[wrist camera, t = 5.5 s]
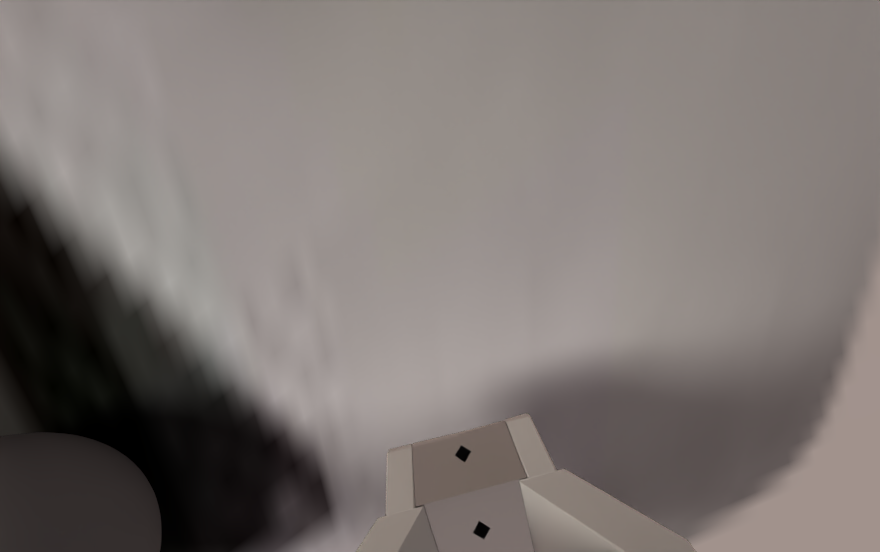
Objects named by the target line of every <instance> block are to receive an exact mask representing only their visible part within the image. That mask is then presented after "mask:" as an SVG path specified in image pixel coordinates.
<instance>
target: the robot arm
mask: <svg viewBox="0 0 880 552" xmlns="http://www.w3.org/2000/svg"><path fill="white" fill-rule="evenodd" d="M356 552H696V551H695V549H694V548H693V547H692V545H691V544H690V542H689V541H688V540H687V539H685V538H683V537H681V536H680V535H678V534H676V533H674V532H673V531H671V530H669V529H668V528H666V527H664V526H662V525H661V524H659V523H657V522H656V521H654V520H652V519H650V518H649V517H647V516H645V515H643V514H642V513H640V512H638V511H637V510H635V509H633V508H631V507H630V506H628V505H626V504H624V503H623V502H621V501H619V500H618V499H616V498H614V497H612V496H611V495H609V494H607V493H606V492H604V491H602V490H600V489H599V488H597V487H595V486H593V485H592V484H590V483H588V482H587V481H585V480H583V479H581V478H580V477H578V476H576V475H575V474H573V473H571V472H569V471H568V470H566V469H561V470H556V468H555V466H554V464H553V461H552V459H551V457H550V455H549V453H548V451H547V449H546V447H545V445H544V443H543V441H542V439H541V437H540V435H539V433H538V431H537V429H536V427H535V425H534V422H533V420H532V418H531V416H530V415H529V414H527V413H525V414H522V415H518V416H515V417H511V418H508V419H505V421H504V420H503V421H499V422H496V423H492V424H488V425H485V426H481V427H477V428H473V429H470V430H466V431H462V432H458V433H454V434H450V435H445V436H441V437H437V438H433V439H428V440H424V441H420V442H416V443H413V444H409V445H405V446H401V447H397V448H393V449H389V451H388V453H387V470H386V513H385V516H384V517H380V518H378V519H377V520H376V522H375V523H374V525H373V526H372V528H371V529H370V531H369V532H368V534H367V536H366V537H365V539H364V540H363V542H362V543H361V545H360V546H359V548H358V549H357V551H356Z"/></svg>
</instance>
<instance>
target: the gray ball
mask: <svg viewBox="0 0 880 552" xmlns="http://www.w3.org/2000/svg"><path fill="white" fill-rule="evenodd" d="M161 534H162V533H161V517H160V510H159V506H158V502H157V499H156V496H155V493H154V491H153V489H152V487H151V485H150V483H149V482H148V480H147V478H146V477H145V475H144V474H143V473H142V471H141V470H140V469H139V468H138V467H137V466H136V464H135V463H134V462H132V461H131V460H130V459H129V458H128V457H126V456H125V455H123V454H122V453H120V452H119V451H118V450H116V449H114V448H112V447H110V446H108V445H106V444H104V443H101V442H99V441H96V440H93V439H90V438H86V437H83V436H78V435H73V434H64V433H50V432H34V433H23V434H14V435H6V436H1V437H0V552H160V547H161Z"/></svg>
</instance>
